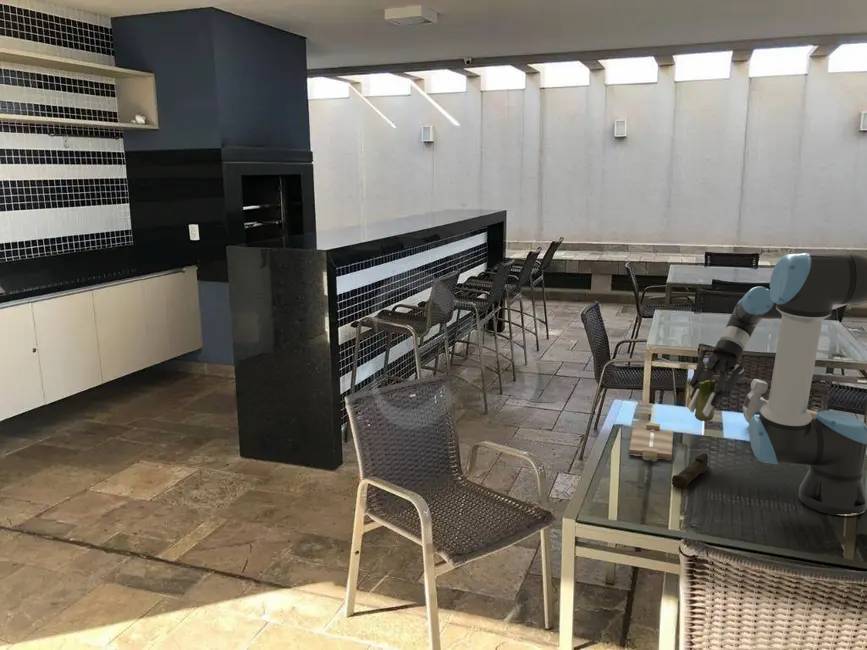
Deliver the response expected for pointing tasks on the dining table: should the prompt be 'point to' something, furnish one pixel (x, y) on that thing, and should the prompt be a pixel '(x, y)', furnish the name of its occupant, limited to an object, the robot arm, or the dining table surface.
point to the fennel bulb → (704, 400)
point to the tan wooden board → (651, 442)
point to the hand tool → (690, 472)
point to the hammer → (758, 400)
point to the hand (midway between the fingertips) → (697, 411)
